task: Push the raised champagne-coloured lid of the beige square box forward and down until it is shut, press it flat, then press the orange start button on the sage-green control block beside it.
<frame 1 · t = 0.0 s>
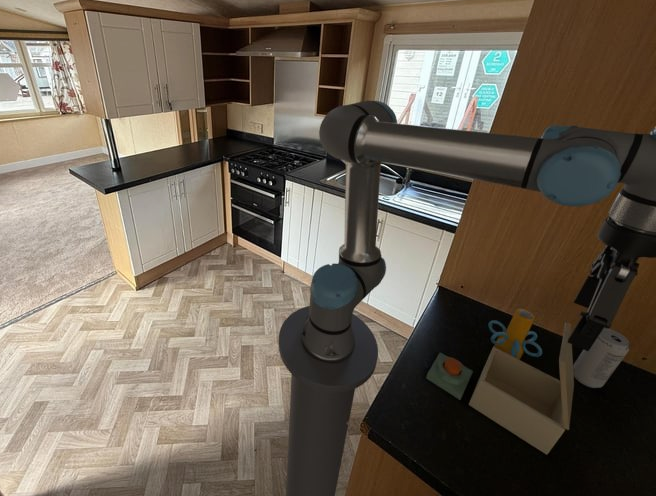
hand: (580, 324, 58), 29 cm above the worktop, tool pointing down, fingers open, 13 cm apart
cooker lid: (567, 373, 62), point 16 cm above the worktop, hinge at 70.0°
energy drink can: (585, 379, 79), on the worktop
cylinder: (505, 355, 85), on the worktop
beige square box: (511, 407, 72), on the worktop
control block: (448, 376, 79), on the worktop
start button: (452, 366, 78), point 4 cm above the worktop, slide at 0.1 cm
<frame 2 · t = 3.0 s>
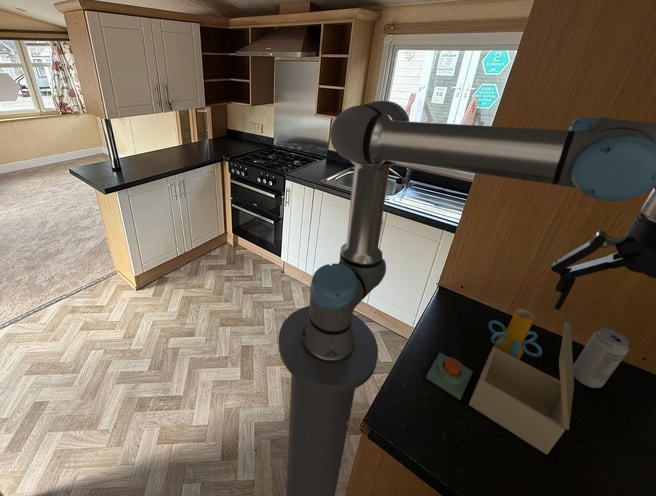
hand: (606, 325, 56), 30 cm above the worktop, tool pointing down, fingers open, 13 cm apart
nothing on the worktop moved.
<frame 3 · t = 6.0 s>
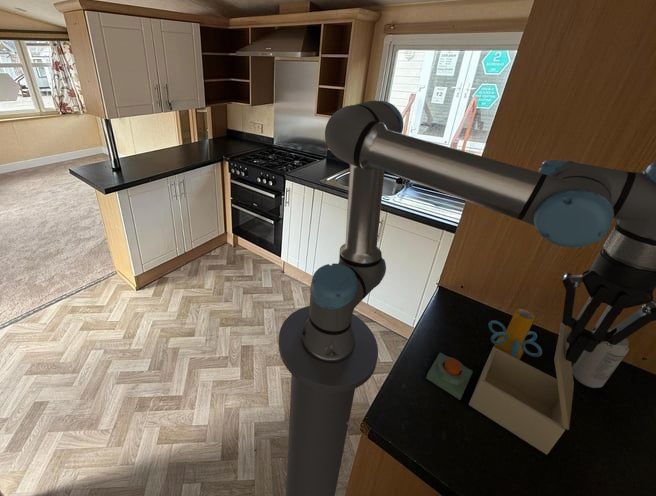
hand: (570, 357, 61), 21 cm above the worktop, tool pointing down, fingers closed
cooker lid: (564, 373, 63), point 16 cm above the worktop, hinge at 67.6°, touching gripper
everything else where it was.
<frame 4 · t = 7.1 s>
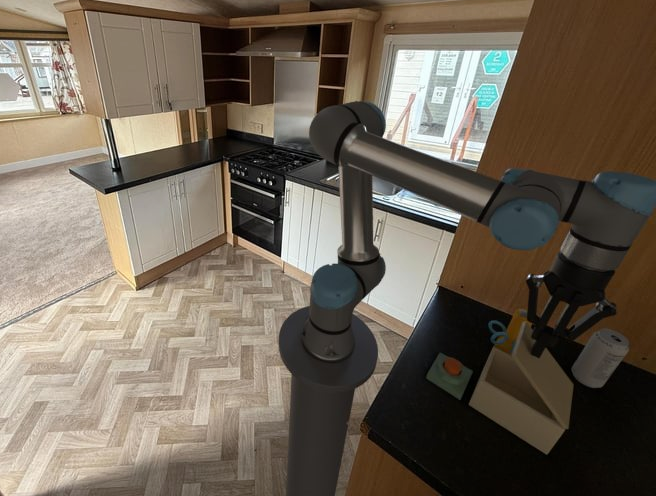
hand: (535, 352, 65), 18 cm above the worktop, tool pointing down, fingers closed
cooker lid: (543, 370, 65), point 14 cm above the worktop, hinge at 41.9°, touching gripper
everything else where it was.
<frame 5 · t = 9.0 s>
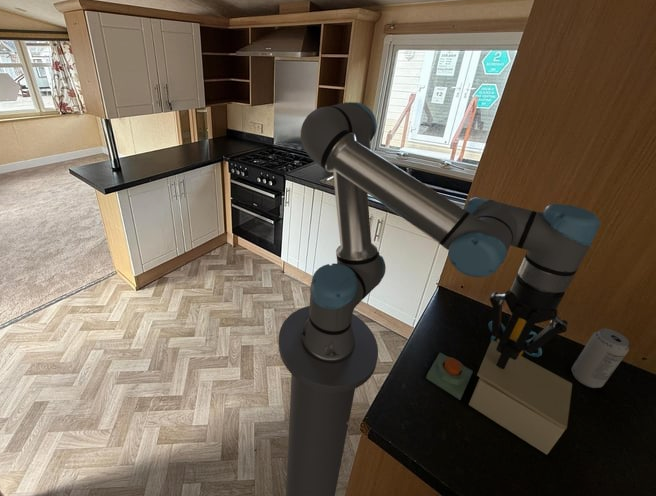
hand: (501, 363, 71), 11 cm above the worktop, tool pointing down, fingers closed
cooker lid: (524, 379, 68), point 10 cm above the worktop, hinge at 3.3°
everything else where it was.
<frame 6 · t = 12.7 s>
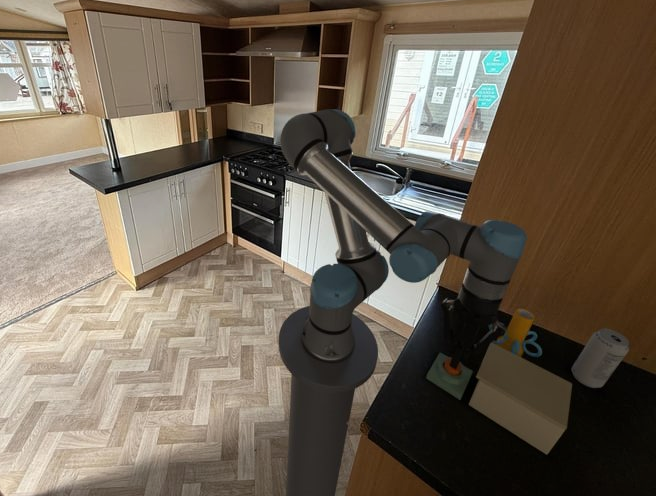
hand: (454, 363, 77), 5 cm above the worktop, tool pointing down, fingers closed
cooker lid: (523, 380, 69), point 9 cm above the worktop, hinge at 0.5°
start button: (452, 366, 78), point 4 cm above the worktop, slide at 0.0 cm, touching gripper
everything else where it was.
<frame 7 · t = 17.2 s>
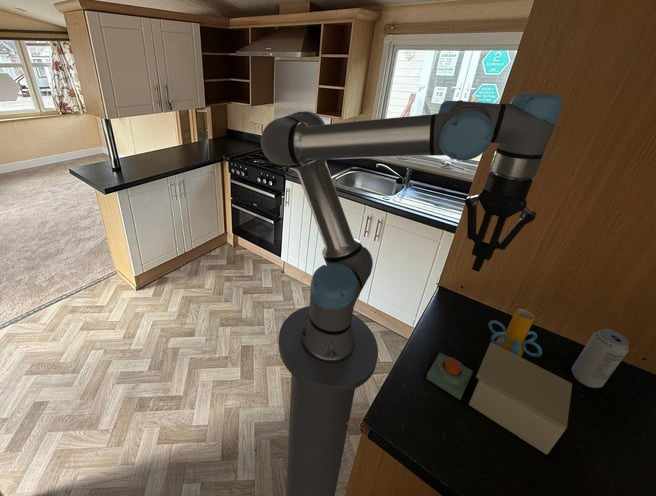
hand: (476, 268, 74), 28 cm above the worktop, tool pointing down, fingers closed
start button: (452, 366, 78), point 4 cm above the worktop, slide at 0.1 cm
everything else where it was.
at the end: cooker lid at +0° (first picture: +70°); start button pushed in 1.0 cm at the most during the clip, back to where it started at the end; start button slide at 0.1 cm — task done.
